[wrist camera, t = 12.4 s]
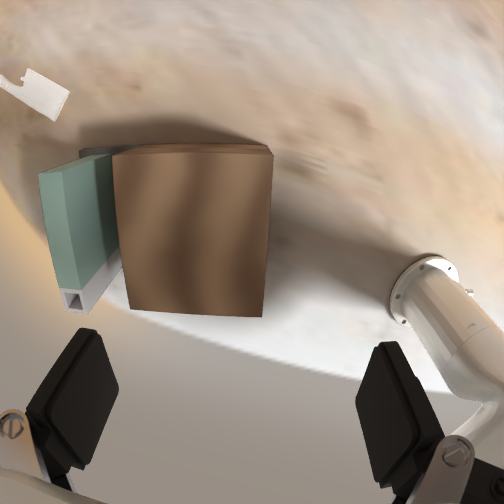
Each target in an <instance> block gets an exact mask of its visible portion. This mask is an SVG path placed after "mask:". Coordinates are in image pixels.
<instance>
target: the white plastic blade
mask: <svg viewBox="0 0 504 504" xmlns="http://www.w3.org/2000/svg"><path fill="white" fill-rule="evenodd" d="M20 79H21V80H22V81H24V84H23V86H18V85H15V84H13V83H11V82H10V81H9V80H8V79H6V78H5V77H4V76H3V75H2V74H1V75H0V87H1V88H3V89H4V90H6V91H7V92H9V93H11V94H12V95H14V96H15V97H16V98H18V99H19V100H21V101H22V102H25V104H28V106H31V108H34V110H37V112H40V113H41V114H43V115H45V116H46V117H48V118H50V119H51V120H53V121H56V120H57V118H58V115H59V113H60V111H61V109H62V107H63V105H64V103H65V101H66V99H67V97H68V95H69V93H70V91H68V90H66V89H65V88H63V87H61V86H59V85H58V84H56V83H54V82H52V81H51V80H49V79H47V78H45V77H44V76H42V75H40V74H38V73H36V72H35V71H33V70H31V69H29V68H28V69H27V72H26V74H25V76H24V77H21V78H20Z"/></svg>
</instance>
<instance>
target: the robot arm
mask: <svg viewBox="0 0 504 504" xmlns="http://www.w3.org/2000/svg"><path fill="white" fill-rule="evenodd" d="M472 296H473V290H472V289H464V288H463V287H462V286H461V285H460V284H459V283H458V274H457V271H456V269H455V267H454V266H453V264H451V263H450V262H449V261H448V260H447V259H445V258H442V257H439V256H431V257H426V258H424V259H421V260H419V261H417V262H415V263H414V264H412V265H411V266H410V267H409V268H407V269H406V270H405V272H404V273H403V274H402V275H401V276H400V277H399V279H398V280H397V282H396V284H395V286H394V288H393V290H392V293H391V297H390V310H391V314H392V315H393V317H394V319H395V320H396V321H397V323H399V324H400V325H401V326H404V327H406V328H413V330H414V331H415V333H416V334H417V336H418V337H419V339H420V341H421V342H422V344H423V345H424V347H425V349H426V350H427V352H428V354H429V355H430V357H431V359H432V360H433V362H434V364H435V365H436V367H437V369H438V370H439V372H440V374H441V375H442V377H443V379H444V381H445V383H446V384H447V386H448V388H449V389H450V391H451V392H452V393H453V394H455V395H456V396H457V397H459V398H462V399H465V400H472V401H482V405H481V407H480V408H479V409H478V410H477V411H476V412H475V413H474V414H473V415H472V417H471V418H469V419H468V420H467V421H466V422H465V423H464V424H462V425H461V426H460V427H459V428H458V429H456V430H455V431H454V432H453V433H451V434H450V435H449V436H447V437H445V435H444V433H443V431H442V428H441V426H440V424H439V421H438V419H437V417H436V415H435V412H434V410H433V408H432V406H431V404H430V402H429V400H428V397H427V395H426V393H425V391H424V389H423V387H422V385H421V383H420V381H419V379H418V378H417V377H416V376H415V375H414V373H413V371H412V369H411V367H410V365H409V363H408V361H407V359H406V357H405V355H404V353H403V351H402V349H401V347H400V346H399V344H398V342H396V341H390V342H380V343H379V345H378V347H375V348H374V349H373V352H372V355H371V358H370V361H369V364H368V367H367V369H366V372H365V375H364V377H363V380H362V383H361V385H360V388H359V391H358V393H357V396H356V400H355V402H356V403H355V404H356V409H357V412H358V416H359V419H360V424H361V427H362V431H363V435H364V439H365V443H366V447H367V451H368V455H369V459H370V464H371V468H372V472H373V476H374V480H375V482H379V484H380V488H381V489H382V488H387V487H391V486H392V489H393V493H394V495H393V497H392V499H391V500H390V502H389V504H504V333H503V331H502V330H501V329H500V328H499V327H498V326H497V325H496V324H495V322H494V321H493V320H492V319H491V318H490V317H489V316H488V315H487V314H486V313H485V311H484V310H483V309H482V308H481V307H480V306H479V305H478V304H477V303H476V302H475V301H474V300H473V299H472V298H471V297H472ZM118 391H119V386H118V383H117V380H116V378H115V375H114V373H113V370H112V367H111V364H110V362H109V358H108V356H107V352H106V350H105V347H104V343H103V340H102V337H101V336H100V335H99V334H98V333H97V331H96V330H93V329H87V328H79V329H78V331H77V332H76V333H75V335H74V336H73V338H72V339H71V340H70V342H69V343H68V345H67V346H66V348H65V349H64V351H63V352H62V353H61V355H60V356H59V358H58V359H57V361H56V362H55V364H54V365H53V367H52V368H51V370H50V371H49V373H48V374H47V376H46V377H45V379H44V380H43V382H42V383H41V385H40V387H39V388H38V390H37V391H36V393H35V395H34V396H33V398H32V399H31V401H30V403H29V405H28V406H27V407H26V410H27V411H26V412H25V414H24V413H23V412H22V411H20V410H16V409H11V410H7V411H5V412H3V413H2V414H1V415H0V504H106V503H103V502H100V501H97V500H94V499H91V498H88V497H85V496H82V495H79V494H78V493H77V490H76V488H75V486H74V483H73V481H72V479H71V476H70V473H69V470H70V468H71V466H73V467H75V468H78V469H81V470H84V468H85V465H88V464H89V463H90V462H91V459H92V457H93V454H94V451H95V449H96V446H97V444H98V441H99V439H100V436H101V434H102V431H103V429H104V426H105V424H106V421H107V419H108V416H109V414H110V412H111V409H112V407H113V404H114V402H115V400H116V397H117V395H118Z"/></svg>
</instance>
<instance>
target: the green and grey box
mask: <svg viewBox="0 0 504 504" xmlns="http://www.w3.org/2000/svg"><path fill="white" fill-rule="evenodd" d="M38 179H39V188H40V196H41V203H42V210H43V216H44V222H45V228H46V233H47V238H48V243H49V248H50V253H51V257H52V261H53V266H54V270H55V273H56V278H57V281H58V285H59V288H60V292H61V296H62V299H63V302H64V306H65V309H66V311H68V312H75V313H82V314H89V312H90V311H91V309H92V308H93V307H94V305H95V304H96V302H97V301H98V299H99V298H100V297H101V295H102V294H103V292H104V291H105V290H106V288H107V287H108V285H109V284H110V283H111V281H112V280H113V278H114V277H115V276H116V274H117V273H118V272H119V270H120V269H121V268H122V262H121V256H120V249H119V241H118V233H117V224H116V215H115V205H114V193H113V180H112V162H111V154H102V155H90V156H87V157H84V158H81V159H78V160H75V161H72V162H69V163H66V164H63V165H61V166H58V167H55V168H52V169H50V170H47V171H44V172H42V173H39V174H38Z"/></svg>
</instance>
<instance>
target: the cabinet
mask: <svg viewBox="0 0 504 504" xmlns="http://www.w3.org/2000/svg"><path fill="white" fill-rule="evenodd" d="M102 154H111V162H112V180H113V193H114V205H115V215H116V224H117V233H118V241H119V249H120V256H121V262H122V268H123V271H124V277H125V283H126V289H127V295H128V300H129V305H130V309H133V310H144V311H155V312H168V313H182V314H198V315H216V316H238V317H262V310H263V298H264V285H265V272H266V259H267V246H268V232H269V218H270V204H271V189H272V174H273V158H274V155H273V154H272V152H271V151H270V149H269V148H268V146H267V145H249V144H213V143H183V144H148V145H128V146H114V147H101V148H90V149H82V150H79V155H80V159H81V158H84V157H87V156H90V155H102Z"/></svg>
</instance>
